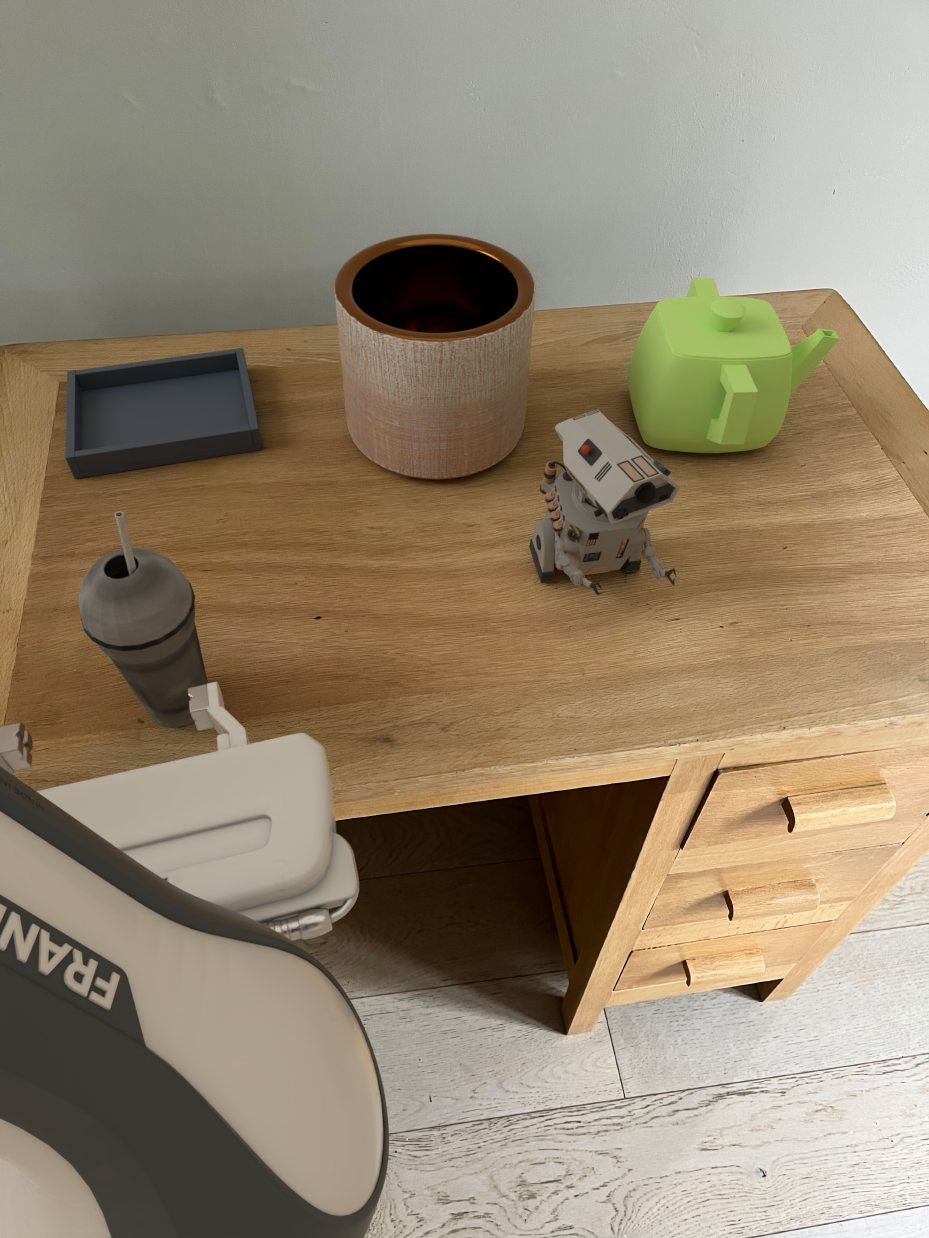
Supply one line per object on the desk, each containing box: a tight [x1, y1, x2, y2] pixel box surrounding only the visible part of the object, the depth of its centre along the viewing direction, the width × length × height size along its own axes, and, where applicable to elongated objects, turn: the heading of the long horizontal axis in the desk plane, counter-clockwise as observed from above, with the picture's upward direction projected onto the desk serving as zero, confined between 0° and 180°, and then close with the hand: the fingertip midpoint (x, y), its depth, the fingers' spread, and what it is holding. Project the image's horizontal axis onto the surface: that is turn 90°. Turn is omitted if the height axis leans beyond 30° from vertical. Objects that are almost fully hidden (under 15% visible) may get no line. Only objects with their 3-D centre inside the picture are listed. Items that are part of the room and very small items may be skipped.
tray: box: [65, 347, 264, 480], centre depth 85 cm, size 18×14×3 cm
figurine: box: [528, 408, 681, 596], centre depth 68 cm, size 9×12×15 cm
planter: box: [333, 233, 536, 480], centre depth 80 cm, size 18×18×16 cm
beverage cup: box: [77, 510, 209, 729], centre depth 58 cm, size 7×7×20 cm
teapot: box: [627, 277, 840, 454], centre depth 83 cm, size 18×20×13 cm
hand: (110, 710), depth 43 cm, fingers open, 8 cm apart
